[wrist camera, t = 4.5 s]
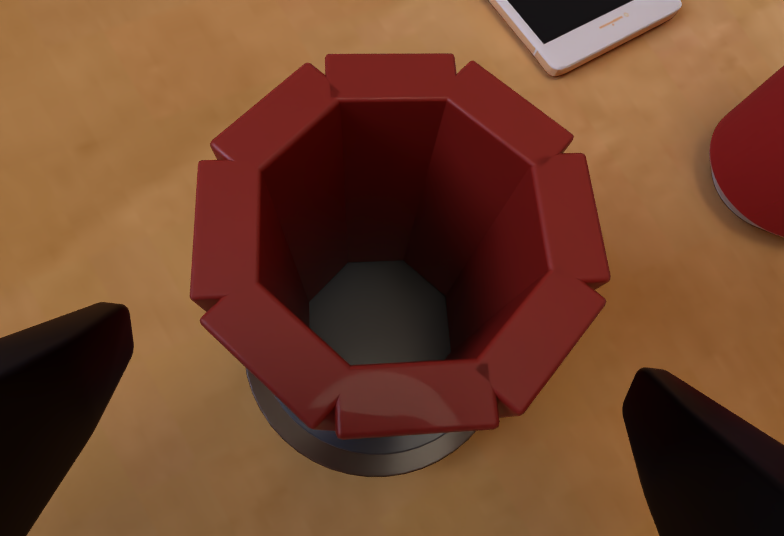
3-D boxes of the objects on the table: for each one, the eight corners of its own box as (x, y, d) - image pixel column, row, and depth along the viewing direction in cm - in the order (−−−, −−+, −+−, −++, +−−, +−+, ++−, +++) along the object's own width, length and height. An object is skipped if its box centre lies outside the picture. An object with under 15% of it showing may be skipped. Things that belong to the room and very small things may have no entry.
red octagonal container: (276, 440, 15) (177, 450, 7) (277, 237, 17) (203, 52, 9) (490, 426, 15) (643, 418, 7) (467, 230, 17) (566, 51, 9)
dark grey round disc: (247, 484, 16) (229, 492, 14) (253, 230, 19) (239, 202, 17) (514, 463, 17) (538, 468, 15) (483, 222, 20) (499, 195, 18)
